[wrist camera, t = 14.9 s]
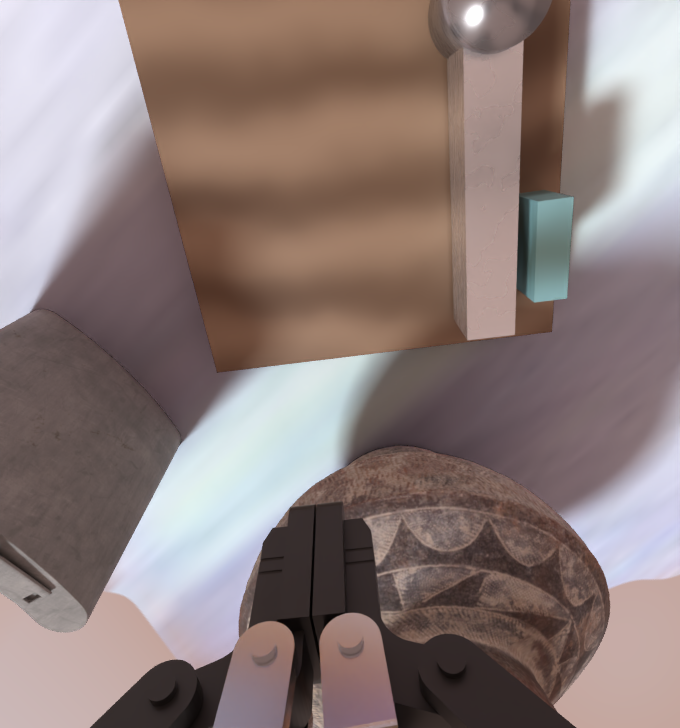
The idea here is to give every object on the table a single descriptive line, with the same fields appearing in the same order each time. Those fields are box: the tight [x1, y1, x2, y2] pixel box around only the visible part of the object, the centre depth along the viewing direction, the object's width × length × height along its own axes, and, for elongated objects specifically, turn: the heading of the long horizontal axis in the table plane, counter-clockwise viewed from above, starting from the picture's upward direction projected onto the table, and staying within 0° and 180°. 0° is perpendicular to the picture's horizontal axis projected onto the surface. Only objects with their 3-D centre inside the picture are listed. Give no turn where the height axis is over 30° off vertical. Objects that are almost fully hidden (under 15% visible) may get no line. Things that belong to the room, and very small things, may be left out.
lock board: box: [119, 0, 574, 373], centre depth 30 cm, size 24×25×7 cm
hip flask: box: [0, 309, 181, 632], centre depth 31 cm, size 16×4×20 cm, turn 37°
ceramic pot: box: [239, 445, 610, 728], centre depth 35 cm, size 25×25×24 cm
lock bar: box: [428, 0, 552, 340], centre depth 28 cm, size 20×5×5 cm, turn 7°
